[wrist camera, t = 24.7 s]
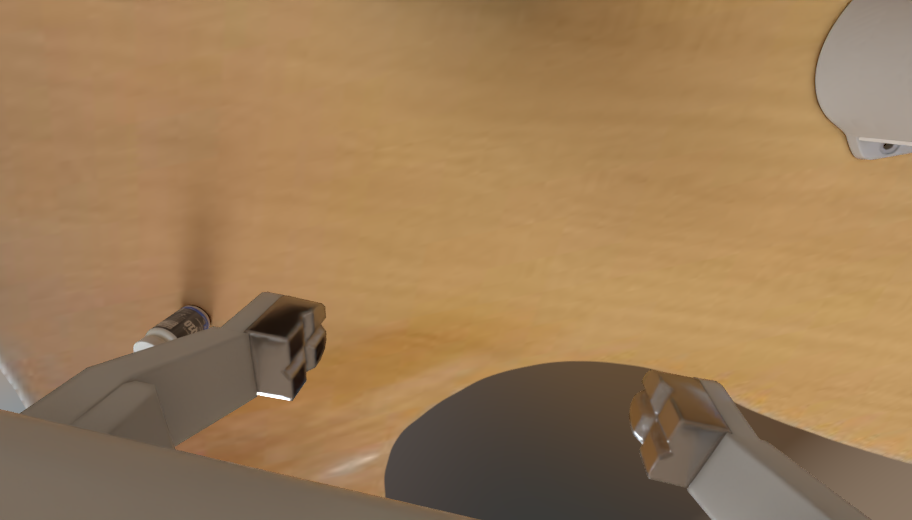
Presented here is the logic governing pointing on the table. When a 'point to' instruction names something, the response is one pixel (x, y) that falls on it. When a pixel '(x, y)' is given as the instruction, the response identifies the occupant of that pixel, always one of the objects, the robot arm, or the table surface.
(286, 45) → the table surface
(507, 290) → the table surface
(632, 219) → the table surface
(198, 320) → the pill bottle
